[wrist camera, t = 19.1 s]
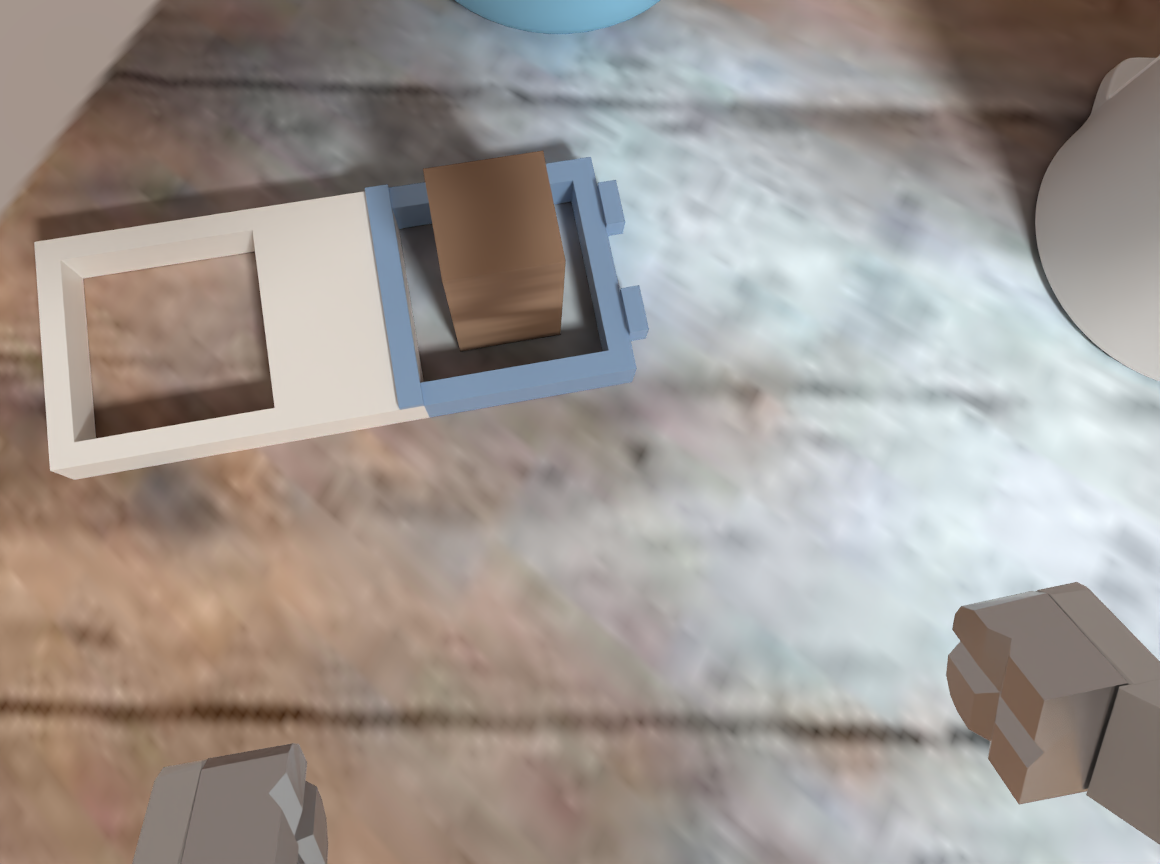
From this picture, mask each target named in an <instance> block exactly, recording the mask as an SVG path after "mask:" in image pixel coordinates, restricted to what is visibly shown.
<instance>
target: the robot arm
mask: <svg viewBox="0 0 1160 864" xmlns="http://www.w3.org/2000/svg"><path fill="white" fill-rule="evenodd" d="M1035 227H1036V239H1037V246H1038V250H1039V255H1040V259H1041V262H1042V266H1043V268H1044V271H1045V274H1046V277H1047V279H1048V281H1049V283H1050V286H1051V288H1052V290H1053V291H1054V293H1055V295H1056V297H1057V299H1058V300H1059V302H1060V304H1061V305H1062V307H1063V308H1064V310H1065V311H1066V312H1067V314H1068V315H1069V317H1070V318H1071V319H1072V320H1073V321H1074V323H1075V324H1076V325H1077V326H1078V327H1079V328H1080V330H1081V331H1082V332H1083V333H1084V334H1085V335H1086V336H1087V337H1088V338H1089V339H1090V340H1091V341H1092V342H1094V343H1095V344H1096V345H1097V346H1098V347H1099V348H1101V349H1102V350H1103V351H1104V352H1106V353H1107V354H1108V355H1110V356H1111V357H1113V358H1114V359H1116V360H1117V361H1119V362H1120V363H1122V364H1123V365H1125V366H1127V367H1129V368H1131V369H1132V370H1134V371H1136V372H1138V373H1141V374H1143V375H1145V376H1147V377H1150V378H1152V379H1155V380H1157V381H1160V56H1158V57H1157V58H1143V57H1136V58H1129V59H1126V60H1124V61H1122V62H1121V63H1120V64H1118V65H1117V66H1116V67H1114V68H1113V69H1112V70H1111V71H1109V72H1108V73H1107V74H1106V76H1105V77H1104V78H1103V80H1102V82H1101V84H1100V87H1099V89H1098V92H1097V95H1096V98H1095V101H1094V105H1093V108H1092V112H1091V115H1090V116H1089V118H1088V119H1087V121H1086V122H1085V123H1084V124H1083V125H1082V127H1081V128H1080V129H1079V130H1078V131H1077V132H1075V133H1074V134H1073V135H1072V136H1071V137H1070V138H1069V139H1068V140H1067V141H1066V142H1065V144H1064V145H1063V146H1062V147H1061V148H1060V149H1059V151H1058V152H1057V154H1056V155H1055V156H1054V158H1053V160H1052V161H1051V163H1050V165H1049V167H1048V169H1047V171H1046V173H1045V175H1044V178H1043V180H1042V183H1041V186H1040V190H1039V194H1038V199H1037V204H1036V217H1035ZM952 630H953V631H954V632H955V634H956V635H957V637H958V638H959V639H960V643H959V644H958V645H957V646H956V647H955V648H954V649H953V650H952V652H951V653H950V654H949V655H948V663H947V672H946V676H947V681H948V686H949V691H950V695H951V698H952V700H953V703H954V705H955V707H956V709H957V712H958V713H959V715H960V717H961V718H962V720H963V721H964V723H965V724H966V726H967V727H968V729H969V730H971V731H973V732H975V733H976V734H978V735H980V736H982V737H983V738H985V739H987V740H989V741H990V748H989V756H988V759H989V761H990V762H991V764H992V765H993V767H994V768H995V770H996V771H997V773H998V774H999V776H1000V777H1001V778H1002V780H1003V781H1004V783H1005V784H1006V786H1007V787H1008V789H1009V790H1010V792H1011V793H1012V795H1013V796H1014V798H1015V799H1016V801H1017V802H1018V804H1024V803H1029V802H1034V801H1039V800H1044V799H1049V798H1055V797H1060V796H1065V795H1070V794H1075V793H1080V792H1085V791H1087V794H1086V795H1087V796H1089V797H1090V798H1092V799H1093V800H1095V801H1096V802H1097V803H1099V804H1100V805H1102V806H1103V807H1105V808H1106V809H1108V810H1109V811H1111V812H1112V813H1114V814H1115V815H1117V816H1118V817H1120V818H1121V819H1123V820H1124V821H1126V822H1127V823H1129V824H1130V825H1132V826H1133V827H1135V828H1136V829H1137V830H1139V831H1140V832H1142V833H1143V834H1145V835H1146V836H1148V837H1149V838H1151V839H1152V840H1154V841H1155V842H1157V843H1158V844H1160V661H1159V660H1158V659H1157V658H1156V657H1155V656H1154V655H1153V654H1152V653H1151V652H1150V651H1149V650H1148V649H1147V648H1146V647H1145V646H1144V645H1143V644H1142V643H1141V642H1140V641H1139V640H1138V639H1137V638H1136V637H1135V636H1134V635H1133V634H1132V633H1131V632H1130V631H1129V630H1128V628H1127V627H1126V626H1125V625H1124V624H1123V623H1122V622H1121V621H1120V620H1119V619H1118V618H1117V617H1116V616H1115V615H1114V614H1113V613H1112V612H1111V611H1110V610H1109V609H1108V608H1107V607H1106V606H1105V605H1104V604H1103V603H1102V602H1101V601H1100V600H1099V599H1098V598H1097V597H1096V596H1095V595H1094V594H1093V593H1092V591H1091V590H1090V589H1088V588H1087V587H1086V586H1084V585H1082V584H1080V583H1078V582H1075V583H1070V584H1065V585H1060V586H1055V587H1051V588H1046V589H1041V590H1038V591H1029V592H1025V593H1020V594H1016V595H1011V596H1006V597H1002V598H997V599H992V600H988V601H983V602H979V603H974V604H969V605H965V606H961V607H960V608H959V610H958V611H957V612H956V614H955V618H954V623H953V629H952ZM306 767H307V761H306V759H305V757H304V755H303V752H302V750H301V748H300V746H299V744H287V745H282V746H276V747H270V748H265V749H259V750H253V751H248V752H242V753H237V754H231V755H225V756H220V757H214V758H208V759H206V760H200V761H195V762H190V763H184V764H179V765H173V766H168V767H163V769H162V770H161V772H160V773H159V775H158V777H157V778H156V780H155V781H154V785H153V788H152V792H151V796H150V800H149V803H148V807H147V811H146V814H145V818H144V822H143V826H142V829H141V833H140V837H139V840H138V844H137V848H136V852H135V855H134V859H133V863H132V864H327V856H328V836H327V822H326V815H325V811H324V807H323V802H322V799H321V796H320V794H319V791H318V788H317V787H316V786H315V785H313V784H311V783H309V782H307V781H305V778H306Z"/></svg>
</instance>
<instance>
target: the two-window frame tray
mask: <svg viewBox="0 0 1160 864" xmlns="http://www.w3.org/2000/svg"><path fill="white" fill-rule="evenodd" d="M546 168H547V173H548V178H549V182H550V187H551V192H552V197H553V202H554V204H560V203H566V202H572V207H573V212H574V217H575V221H576V226H577V231H578V236H579V241H580V245H581V250H582V255H583V260H584V265H585V269H586V274H587V279H588V284H589V289H590V293H591V298H592V303H593V308H594V313H595V317H596V322H597V327H598V332H599V337H600V341H601V346H602V351H603V352H597V353H591V354H585V355H579V356H573V357H568V358H562V359H556V360H550V361H544V362H539V363H533V364H527V365H521V366H515V367H509V368H504V369H498V370H492V371H486V372H480V373H475V374H469V375H463V376H457V377H451V378H445V379H440V380H434V381H428V382H424V380H423V374H422V367H421V361H420V355H419V349H418V343H417V337H416V331H415V324H414V318H413V312H412V306H411V300H410V294H409V288H408V281H407V275H406V269H405V263H404V257H403V251H402V245H401V238H400V232H399V229H401V228H407V227H414V226H420V225H426V224H432V218H431V213H430V207H429V201H428V195H427V189H426V183H425V182H423V183H416V184H410V185H403V186H397V187H390V188H389V187H388V184H387V185H380V186H374V187H367V188H365V191H364V192H358V193H351V194H344V195H338V196H331V197H325V198H318V199H312V200H305V201H299V202H292V203H286V204H279V205H273V206H266V207H260V208H253V209H246V210H240V211H233V212H227V213H220V214H214V215H207V216H201V217H194V218H188V219H181V220H175V221H168V222H162V223H155V224H149V225H142V226H135V227H129V228H122V229H116V230H109V231H103V232H96V233H90V234H83V235H77V236H70V237H64V238H57V239H51V240H44V241H37V242H34V244H35V259H36V273H37V288H38V302H39V317H40V331H41V346H42V360H43V375H44V389H45V404H46V418H47V433H48V447H49V462H50V471H52V472H55V473H58V474H60V475H63V476H66V477H69V478H71V479H74V480H76V479H81V478H87V477H93V476H98V475H104V474H110V473H116V472H121V471H127V470H133V469H138V468H144V467H150V466H156V465H161V464H167V463H173V462H178V461H184V460H190V459H195V458H201V457H207V456H213V455H218V454H224V453H230V452H235V451H241V450H247V449H253V448H258V447H264V446H270V445H275V444H281V443H287V442H292V441H298V440H304V439H310V438H315V437H321V436H327V435H332V434H338V433H344V432H350V431H355V430H361V429H367V428H372V427H378V426H384V425H389V424H395V423H401V422H407V421H412V420H418V419H424V418H429V417H435V416H441V415H447V414H452V413H458V412H464V411H469V410H475V409H481V408H487V407H492V406H498V405H504V404H509V403H515V402H521V401H526V400H532V399H538V398H544V397H549V396H555V395H561V394H566V393H572V392H578V391H584V390H589V389H595V388H601V387H606V386H612V385H618V384H623V383H629V382H632V380H633V377H634V375H635V372H636V369H637V368H636V364H635V359H634V354H633V350H632V345H631V341H634V340H639V339H645V338H646V336H647V333H648V330H649V328H648V323H647V319H646V314H645V310H644V305H643V301H642V296H641V292H640V287H639V285H638V286H632V287H626V288H621V290H619V285H618V280H617V276H616V271H615V267H614V262H613V257H612V253H611V248H610V243H609V239H608V236H610V235H616V234H623V229H624V224H625V219H624V215H623V210H622V206H621V201H620V197H619V192H618V188H617V183H616V180H612V181H606V182H599V183H598V186H597V183H596V179H595V174H594V169H593V165H592V160H591V157H586V158H580V159H573V160H567V161H560V162H554V163H547V164H546ZM248 252H255V255H256V263H257V271H258V279H259V287H260V295H261V303H262V311H263V319H264V327H265V335H266V343H267V351H268V359H269V367H270V375H271V383H272V391H273V399H274V407H275V408H271V409H265V410H259V411H253V412H248V413H242V414H236V415H230V416H224V417H219V418H213V419H207V420H201V421H195V422H189V423H184V424H178V425H172V426H166V427H160V428H154V429H149V430H143V431H137V432H131V433H125V434H120V435H114V436H108V437H102V438H96V432H95V419H94V407H93V394H92V382H91V370H90V357H89V345H88V332H87V320H86V308H85V295H84V283H83V278H89V277H95V276H102V275H108V274H114V273H121V272H127V271H134V270H140V269H146V268H153V267H159V266H165V265H172V264H178V263H185V262H191V261H197V260H204V259H210V258H216V257H223V256H229V255H235V254H242V253H248Z"/></svg>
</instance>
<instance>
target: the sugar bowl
mask: <svg viewBox="0 0 1160 864" xmlns="http://www.w3.org/2000/svg"><path fill="white" fill-rule="evenodd" d="M455 1H456V2H458V3H459V4H461V5H462V6H464V7H465V8H467V9H468V10H470V11H472V12H474V13H476V14H478V15H480V16H482V17H484V18H486V19H488V20H491V21H494V22H496V23H499V24H502V25H505V26H508V27H511V28H516V29H520V30H524V31H528V32H537V33H546V34H572V33H581V32H589V31H593V30H597V29H601V28H606V27H610V26H613V25H615V24H618V23H621V22H624V21H626V20H629V19H631V18H633V17H635V16H637V15H638V14H640V13H642V12H644V11H646V10H647V9H649V8H650V7H652V6H653V5H655V4H656V3H657V2H659V1H660V0H455Z"/></svg>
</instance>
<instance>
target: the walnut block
mask: <svg viewBox="0 0 1160 864" xmlns="http://www.w3.org/2000/svg"><path fill="white" fill-rule="evenodd" d="M423 172H424V177H425V183H426V189H427V195H428V201H429V207H430V213H431V218H432V224H433V230H434V236H435V242H436V248H437V254H438V259H439V265H440V271H441V277H442V282H443V286H444V290H445V294H446V298H447V302H448V305H449V309H450V313H451V317H452V321H453V325H454V329H455V332H456V336H457V340H458V344H459V348H460V351H466V350H472V349H478V348H483V347H489V346H495V345H501V344H507V343H513V342H519V341H525V340H531V339H537V338H543V337H549V336H554V335H560V331H561V317H562V303H563V290H564V276H565V262H566V261H565V256H564V251H563V246H562V241H561V237H560V232H559V227H558V222H557V217H556V212H555V207H554V202H553V197H552V192H551V187H550V182H549V178H548V173H547V168H546V163H545V158H544V153H543V151H538V152H531V153H525V154H518V155H511V156H505V157H498V158H492V159H485V160H478V161H472V162H465V163H458V164H452V165H445V166H439V167H432V168H425V169H423Z"/></svg>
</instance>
